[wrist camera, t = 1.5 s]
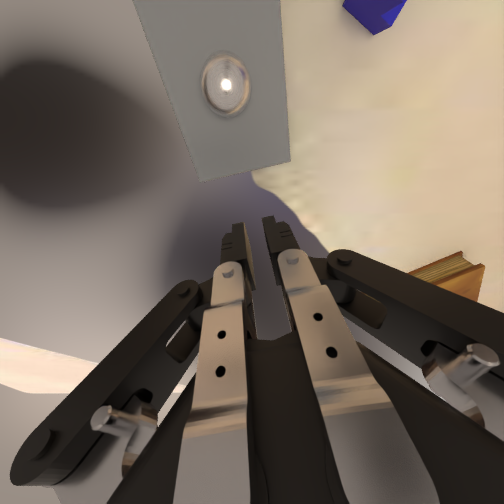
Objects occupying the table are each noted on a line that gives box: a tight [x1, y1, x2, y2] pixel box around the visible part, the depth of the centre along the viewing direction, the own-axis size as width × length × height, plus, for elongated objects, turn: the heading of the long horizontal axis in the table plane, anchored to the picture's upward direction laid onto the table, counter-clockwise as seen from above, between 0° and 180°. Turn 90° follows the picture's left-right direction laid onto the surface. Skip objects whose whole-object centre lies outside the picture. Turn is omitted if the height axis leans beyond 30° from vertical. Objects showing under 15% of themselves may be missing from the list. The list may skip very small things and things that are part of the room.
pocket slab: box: [133, 0, 291, 183], centre depth 18 cm, size 28×13×2 cm, turn 11°
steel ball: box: [200, 50, 251, 118], centre depth 19 cm, size 5×5×5 cm
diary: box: [365, 251, 485, 302], centre depth 48 cm, size 23×19×6 cm
